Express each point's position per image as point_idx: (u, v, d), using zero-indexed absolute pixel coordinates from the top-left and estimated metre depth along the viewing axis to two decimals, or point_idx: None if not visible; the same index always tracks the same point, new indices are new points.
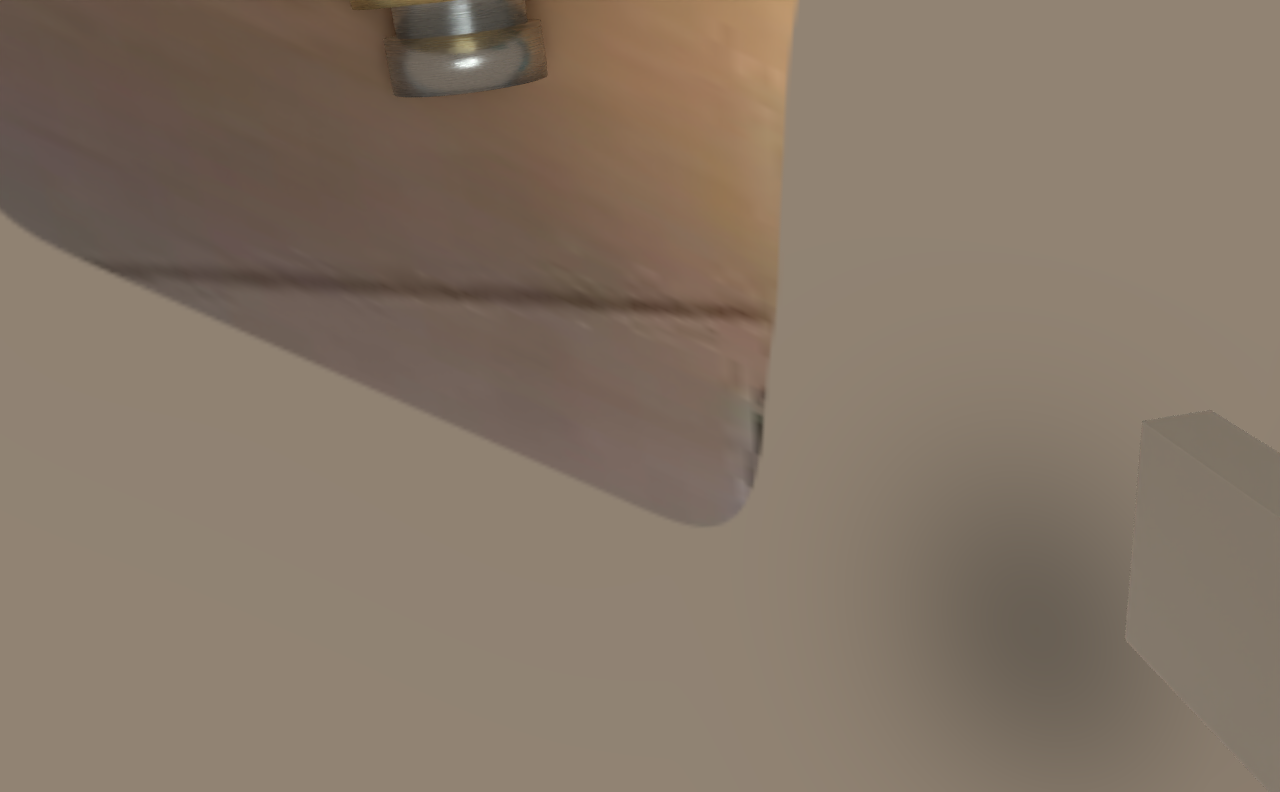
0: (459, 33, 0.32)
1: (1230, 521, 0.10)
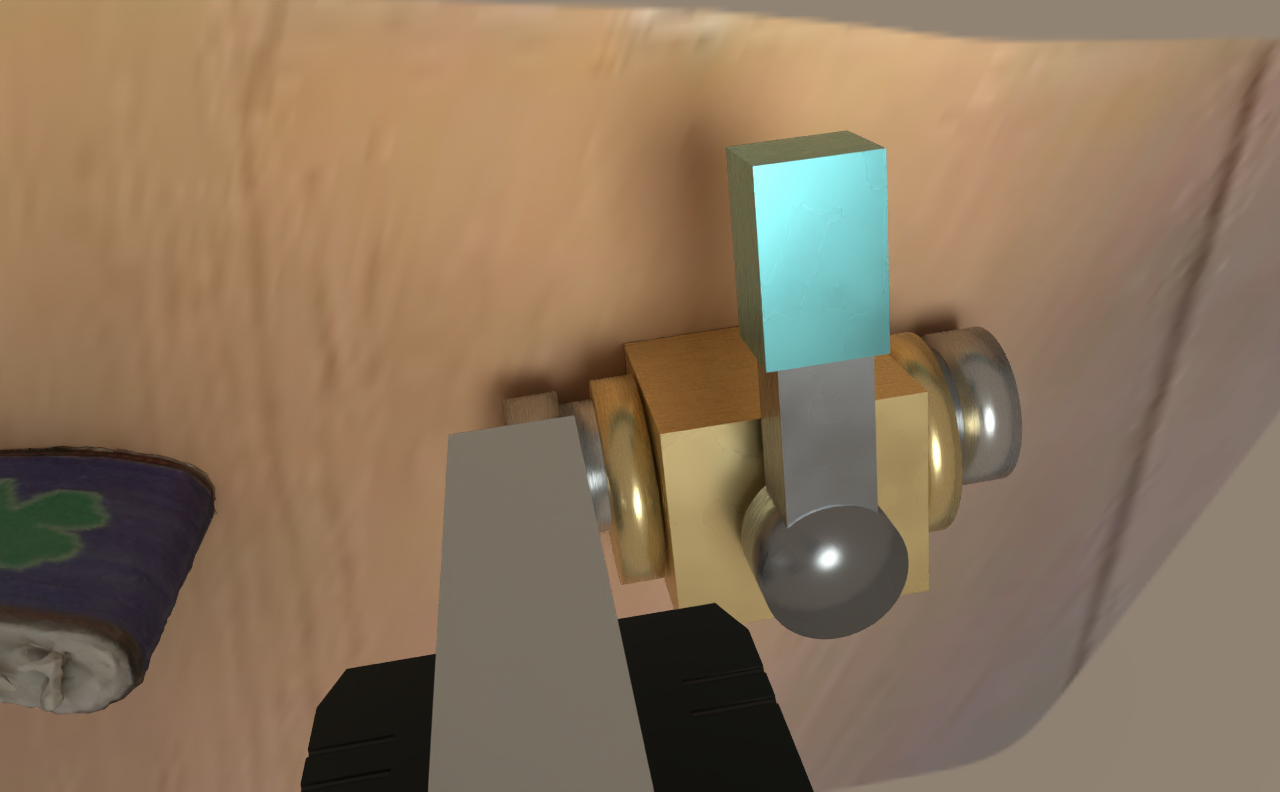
0: (962, 438, 0.32)
1: None
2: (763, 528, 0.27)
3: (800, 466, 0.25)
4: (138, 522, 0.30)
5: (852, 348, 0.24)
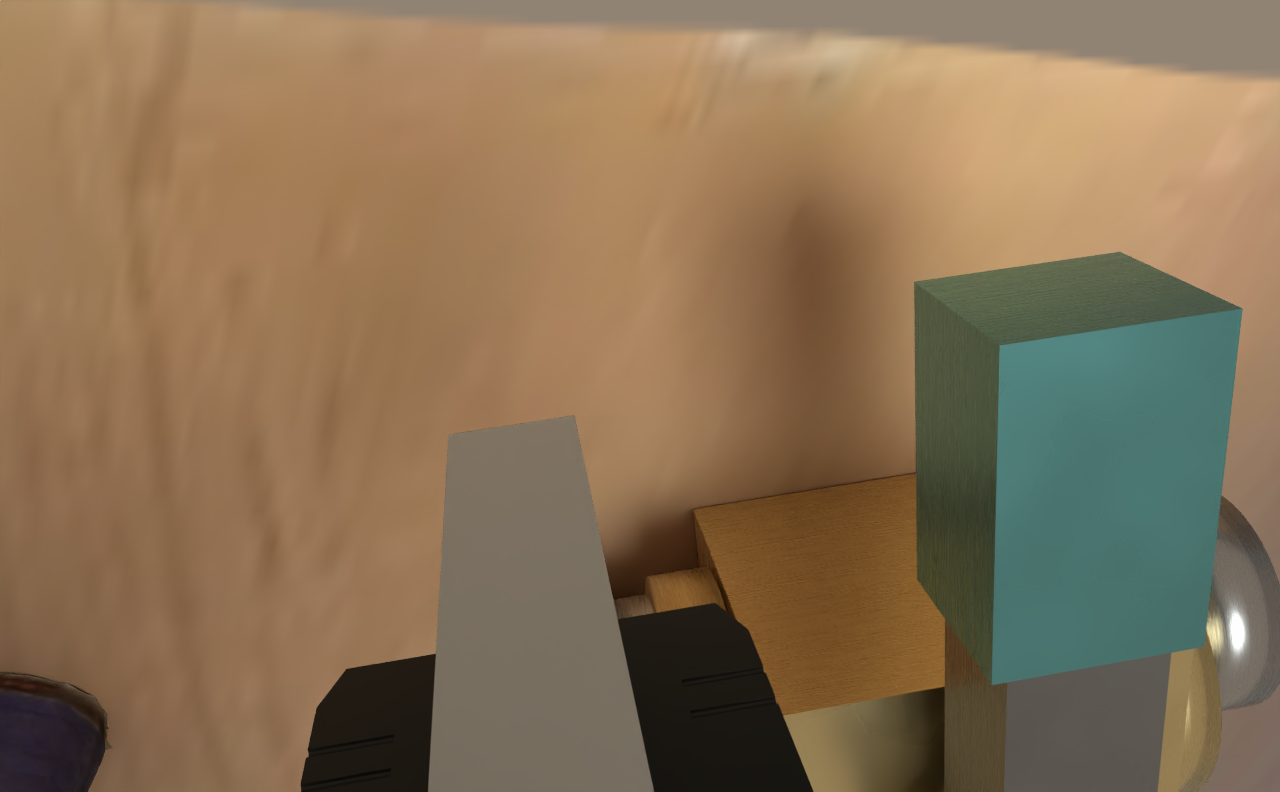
0: None
1: None
2: None
3: None
4: None
5: (1141, 641, 0.14)
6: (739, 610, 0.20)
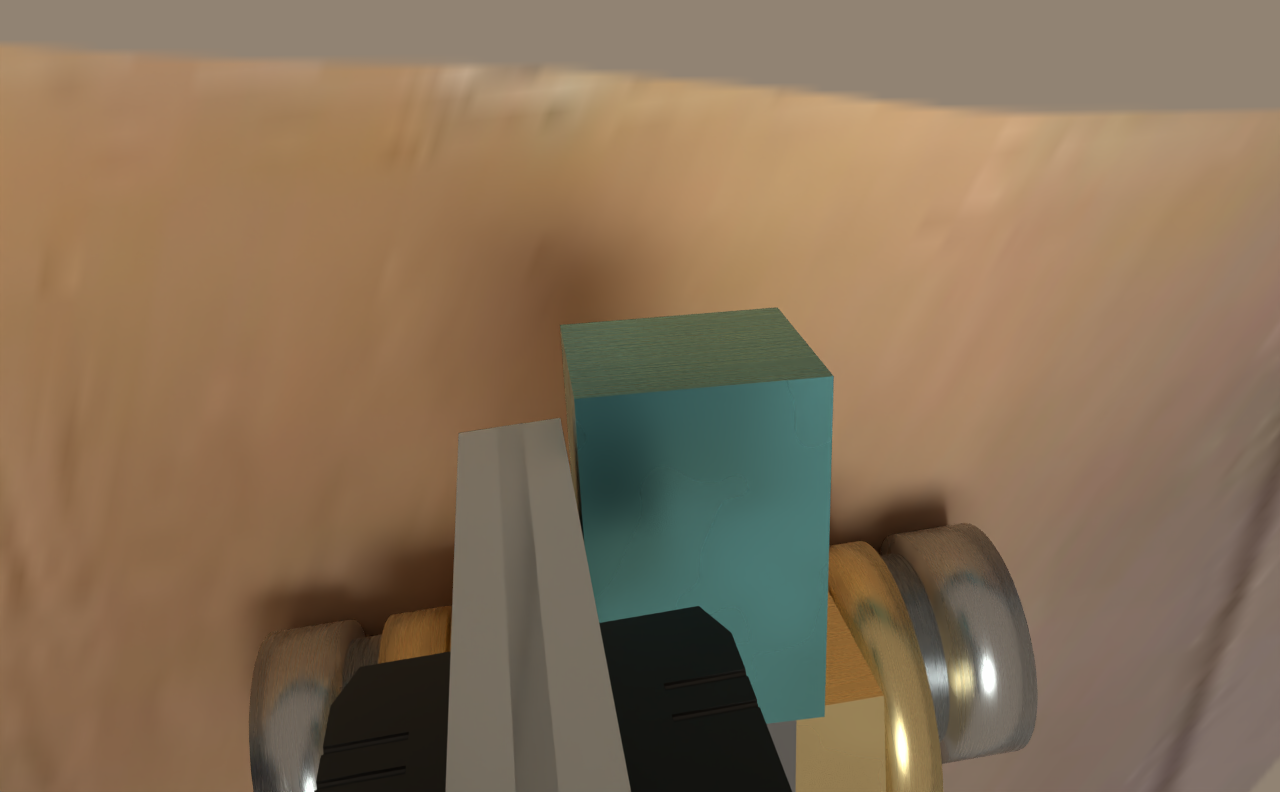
0: (948, 708, 0.22)
1: None
2: None
3: None
4: None
5: None
6: None
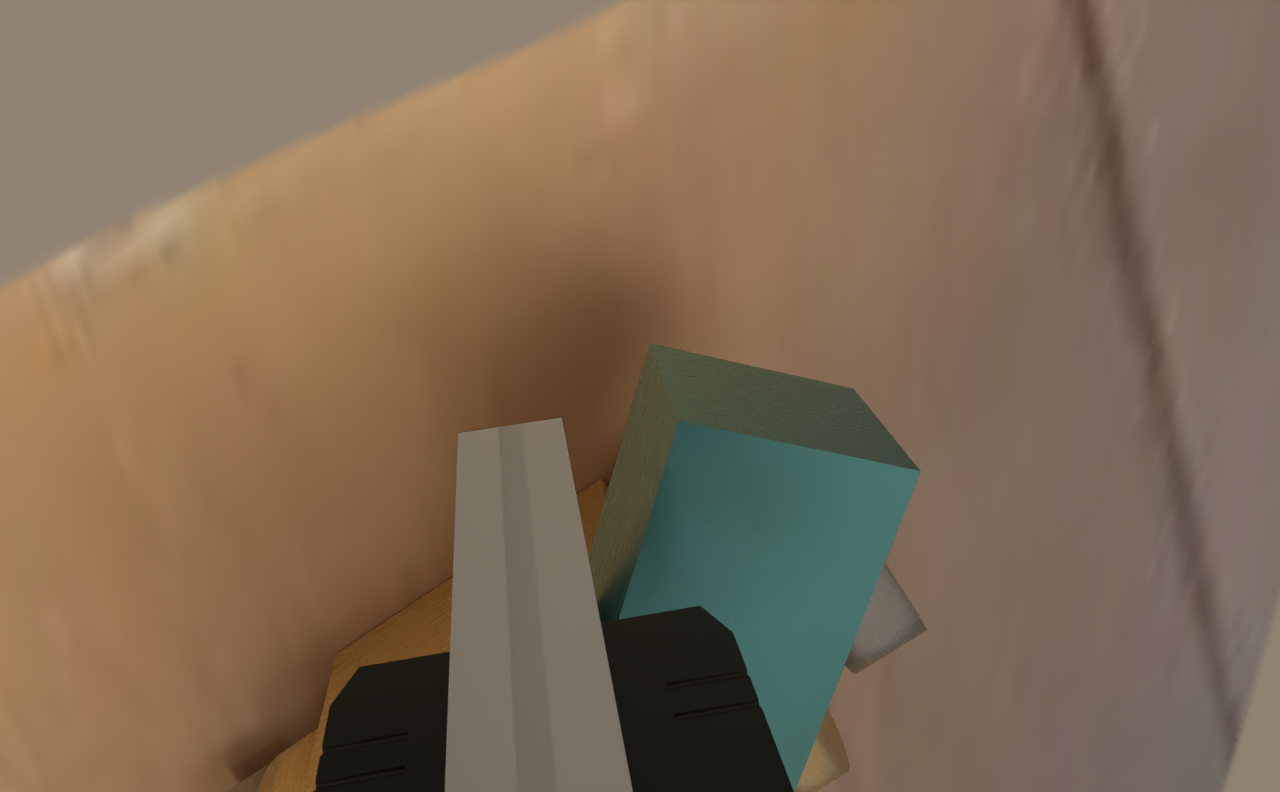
0: None
1: None
2: None
3: None
4: None
5: None
6: (310, 778, 0.20)
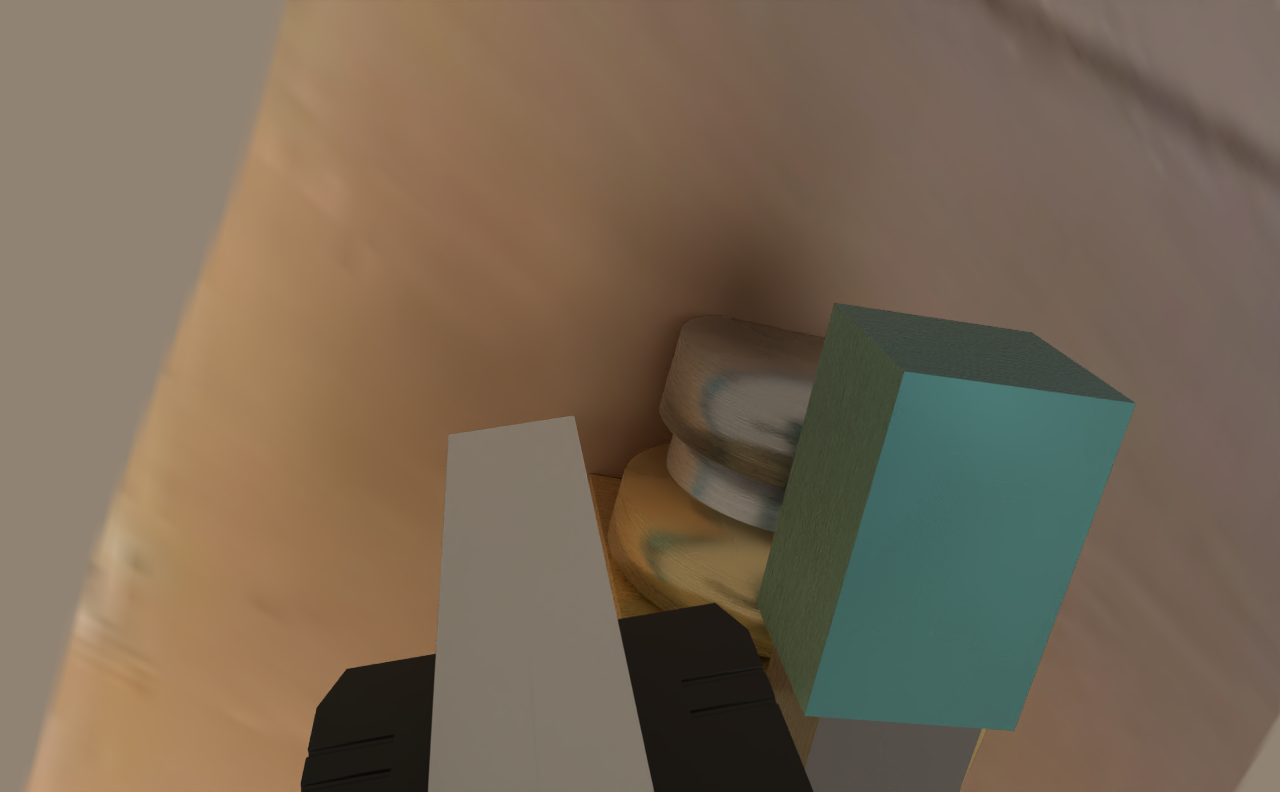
0: None
1: None
2: None
3: None
4: None
5: (958, 709, 0.14)
6: None
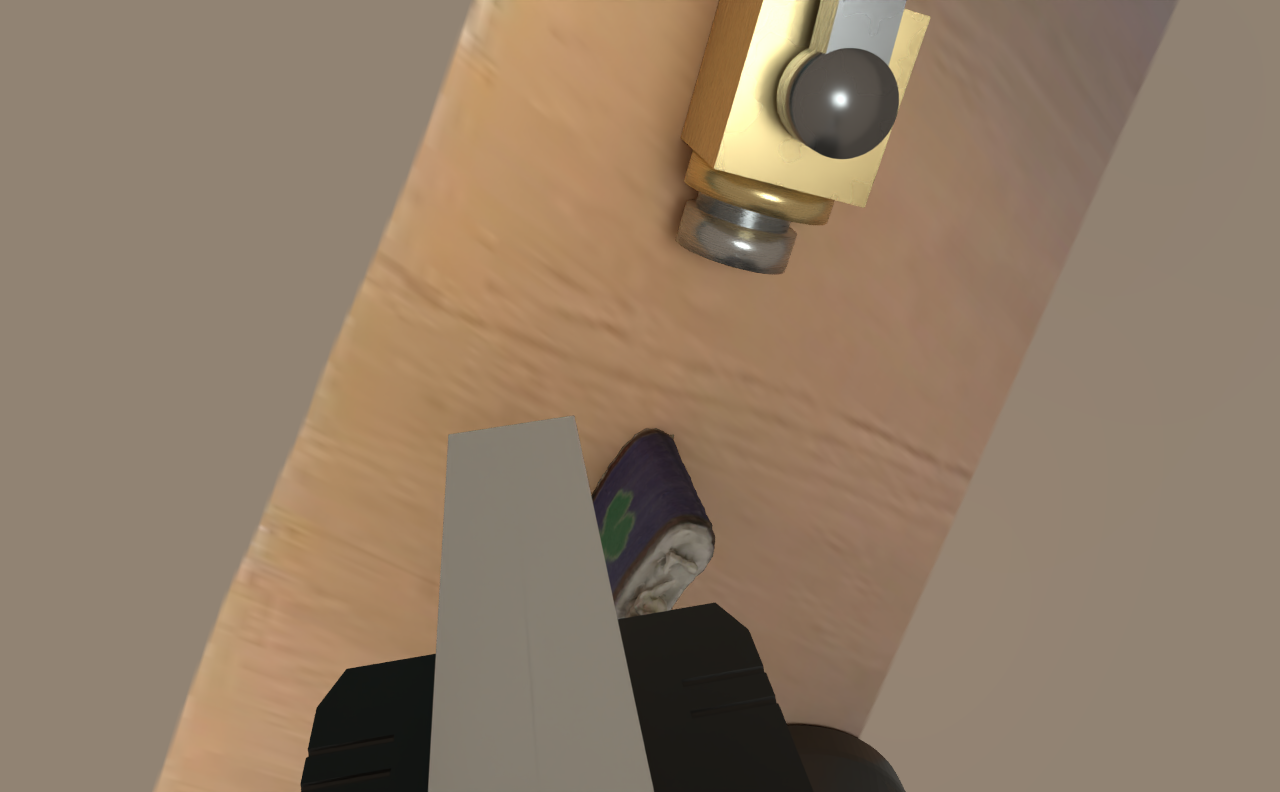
0: None
1: None
2: (804, 61, 0.37)
3: (849, 6, 0.35)
4: (641, 479, 0.48)
5: None
6: (699, 151, 0.42)
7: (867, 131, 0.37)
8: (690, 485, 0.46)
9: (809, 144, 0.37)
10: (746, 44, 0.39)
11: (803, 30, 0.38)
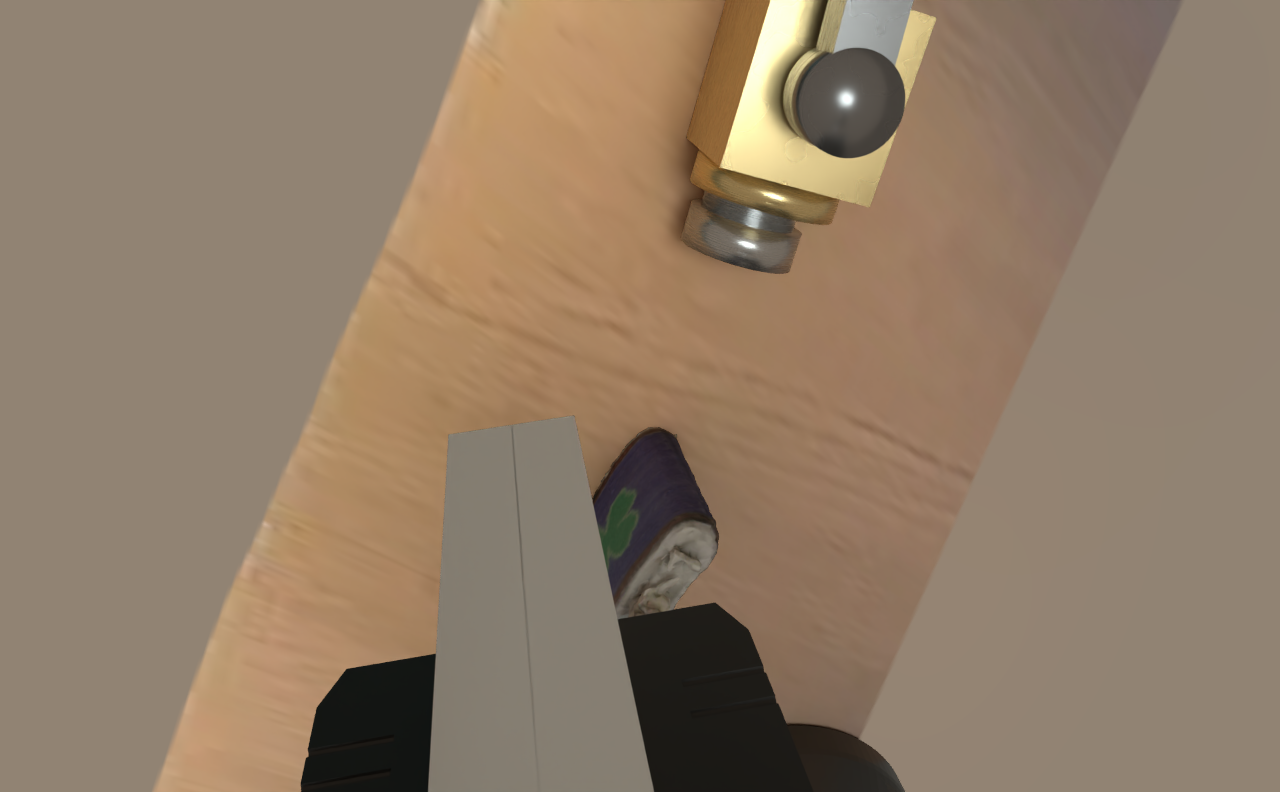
0: None
1: None
2: (811, 60, 0.37)
3: (857, 6, 0.36)
4: (645, 477, 0.48)
5: None
6: (705, 150, 0.43)
7: (873, 130, 0.37)
8: (694, 483, 0.46)
9: (816, 143, 0.37)
10: (753, 43, 0.39)
11: (810, 30, 0.38)
